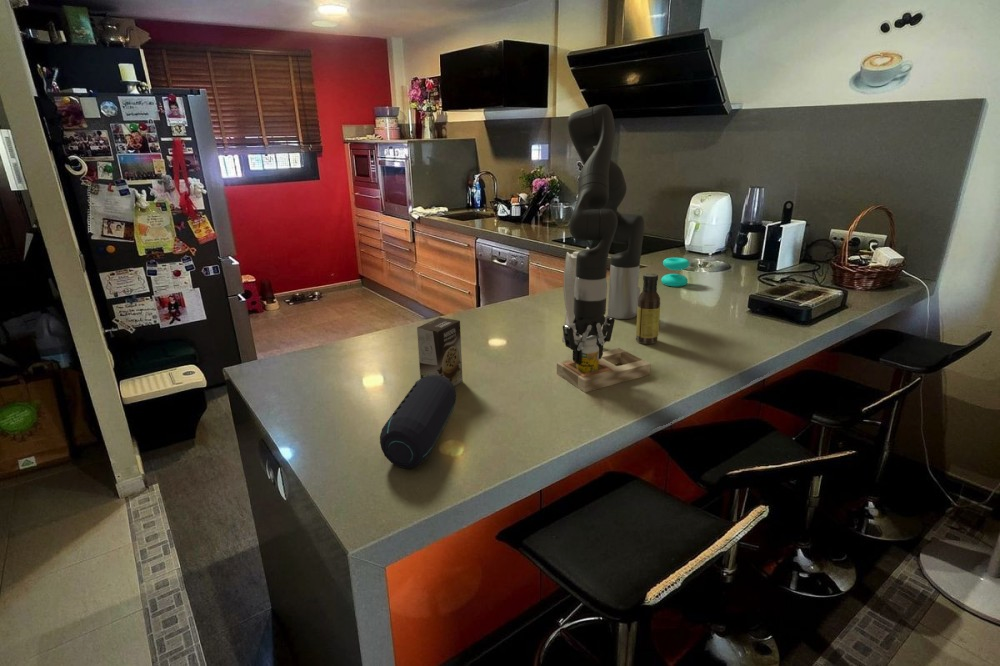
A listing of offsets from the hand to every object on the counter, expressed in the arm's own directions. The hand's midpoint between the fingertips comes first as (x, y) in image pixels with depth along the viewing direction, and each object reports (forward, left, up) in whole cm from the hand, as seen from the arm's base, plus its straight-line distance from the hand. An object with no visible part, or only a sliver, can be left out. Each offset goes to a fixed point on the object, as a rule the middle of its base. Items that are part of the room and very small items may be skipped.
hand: (587, 360), depth 131 cm
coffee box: (+33, -14, -5) cm, 36 cm away
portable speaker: (+46, +7, -5) cm, 46 cm away
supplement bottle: (0, 0, -4) cm, 4 cm away
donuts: (-82, -54, -5) cm, 98 cm away
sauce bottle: (-30, -12, -5) cm, 33 cm away
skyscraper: (-12, -22, -5) cm, 25 cm away
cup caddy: (-5, 0, -5) cm, 7 cm away
